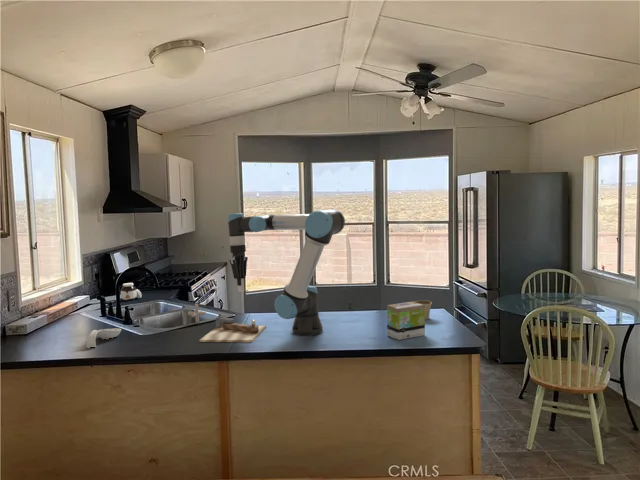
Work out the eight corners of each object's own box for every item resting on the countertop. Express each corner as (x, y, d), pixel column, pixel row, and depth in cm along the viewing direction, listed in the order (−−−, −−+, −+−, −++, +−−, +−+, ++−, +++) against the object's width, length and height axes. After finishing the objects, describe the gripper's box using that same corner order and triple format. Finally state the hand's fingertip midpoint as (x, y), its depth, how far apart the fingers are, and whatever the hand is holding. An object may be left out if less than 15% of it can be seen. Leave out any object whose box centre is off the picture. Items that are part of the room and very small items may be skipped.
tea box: (399, 340, 214) (398, 308, 213) (386, 335, 223) (385, 304, 222) (425, 335, 221) (425, 304, 220) (412, 330, 230) (411, 300, 229)
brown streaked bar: (260, 331, 235) (260, 325, 234) (254, 333, 231) (254, 328, 230) (227, 326, 247) (226, 321, 246) (220, 328, 242) (220, 323, 242)
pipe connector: (201, 325, 257) (200, 306, 256) (184, 324, 259) (183, 306, 258) (209, 320, 266) (208, 302, 265) (193, 320, 268) (192, 302, 267)
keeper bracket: (235, 328, 243) (234, 318, 243) (231, 329, 241) (230, 320, 240) (220, 325, 249) (219, 316, 249) (216, 327, 247) (215, 317, 246)
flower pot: (434, 317, 253) (434, 301, 253) (428, 321, 245) (428, 304, 245) (418, 315, 258) (417, 299, 258) (411, 319, 251) (411, 303, 250)
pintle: (255, 325, 234) (255, 320, 234) (254, 326, 233) (254, 321, 232) (252, 325, 235) (251, 320, 234) (251, 326, 233) (250, 321, 233)
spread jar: (119, 301, 332) (118, 284, 331) (128, 297, 343) (127, 281, 342) (135, 301, 330) (134, 284, 329) (144, 297, 341) (142, 281, 340)
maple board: (266, 327, 246) (266, 325, 246) (252, 342, 221) (252, 339, 221) (218, 327, 250) (218, 325, 250) (199, 341, 225) (199, 339, 225)
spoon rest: (103, 334, 245) (102, 321, 245) (125, 334, 245) (124, 320, 244) (79, 349, 222) (77, 334, 221) (103, 348, 221) (102, 333, 221)
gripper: (238, 243, 242) (242, 289, 243) (223, 246, 230) (227, 294, 232) (251, 243, 239) (254, 289, 240) (236, 245, 227) (240, 294, 229)
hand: (241, 291), depth 236 cm, fingers closed
